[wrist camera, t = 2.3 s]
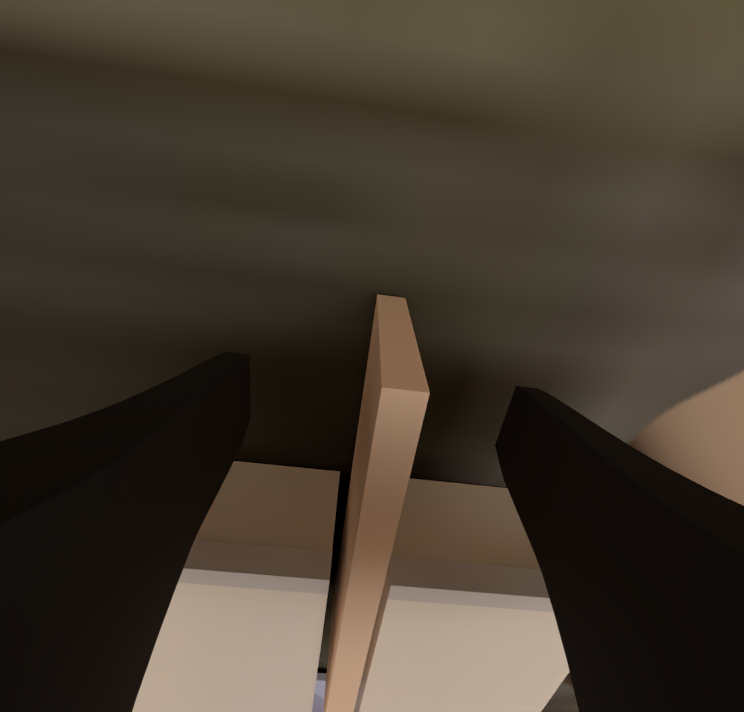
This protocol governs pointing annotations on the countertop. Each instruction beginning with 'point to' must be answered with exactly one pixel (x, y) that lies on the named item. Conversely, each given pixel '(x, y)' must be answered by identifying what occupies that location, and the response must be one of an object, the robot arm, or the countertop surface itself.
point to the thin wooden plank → (375, 493)
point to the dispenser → (394, 616)
